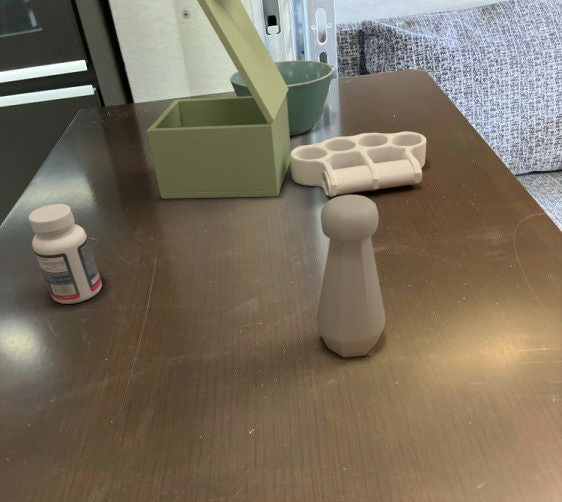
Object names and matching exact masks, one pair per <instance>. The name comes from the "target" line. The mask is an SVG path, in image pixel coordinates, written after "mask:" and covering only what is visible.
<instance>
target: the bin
mask: <svg viewBox="0 0 562 502" xmlns="http://www.w3.org/2000/svg"><path fill="white" fill-rule="evenodd" d="M146 135H147V140H148V144H149V149H150V154H151V159H152V163H153V167H154V172H155V176H156V182H157V186H158V190H159V193H160V199H161V200H163V199H164V200H165V199H213V198H215V199H216V198H217V199H218V198H221V199H222V198H265V197H272V198H273V197H279V194H280V192H281V189H282V187H283V184H284V180H285V178H286V175H287V172H288V170H289V167H290V165H291V159H290V154H291V152H292V150H291V149H292V148H291V138H290V135H289V122H288V109H287V95H286V96H285V98H284V100H283V102H282V104H281V106H280V108H279V110H278V112H277V114H276V117H275V119H274V121H272V122H270V123H268V122H267V120H266V119H265V117H264V115H263V113H262V112H261V110H260V108H259V107H258V105H257V103H256V101H255V100H254V98H253V96H243V97H237V96H226V97H225V96H224V97H222V96H221V97H202V98H201V97H200V98H182V99H181V98H180V99H174V100H173V101H172V102H171V103H170V105H168V107H167V108H166V109H165V110H164V111H163V112H162V113H161V114H160V115H159V117H158V118H157V119H156V120H155V121H154V122H153V123H152V124H151V125H150V126H149V128H148V129H147V130H146Z"/></svg>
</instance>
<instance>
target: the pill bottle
mask: <svg viewBox="0 0 562 502" xmlns="http://www.w3.org/2000/svg"><path fill="white" fill-rule="evenodd" d="M28 221H29V224H30V227H31V229H32V231H33V232H34V234H35V235H34V236H33V238H32V241H31V246H32V250H33V252H34V254H35V257H36V260H37V263H38V265H39V268H40V271H41V273H42V276H43V278H44V281H45V283H46V286H47V288H48V291H49V294H50V296H51V298H52V299H53V300H54V301H55V302H57V303H60V304H63V305H73V304H79V303H82V302H84V301H85V302H86V301H88V300H89V299H91V298H93V297H95V296H96V295H97V294H98V293H99V292H100V291H101V289H102V286H103V283H102V279H101V275H100V272H99V270H98V266H97V264H96V260H95V257H94V253H93V251H92V248H91V245H90V241H89V238H88V236H87V232H86V231H85V230H84V228H83V227H81V225H79V224H76V223H75V222H76V220H75V218H74V215H73V212H72V209H71V207H70V206H69V205H67V204H63V203H53V204H47V205H43V206H40V207H38V208H36V209H35V210H33V211H31V212H30V214H29V215H28Z"/></svg>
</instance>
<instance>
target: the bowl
mask: <svg viewBox="0 0 562 502" xmlns="http://www.w3.org/2000/svg"><path fill="white" fill-rule="evenodd" d="M274 63H275V65H276V67H277V69H278V71H279V72H280V74H281V76H282V78H283V80H284V82H285V83H286V85H287V87H288V91H287V94H286V95H287V109H288V122H289V135H290V136H296V135H301V134H304V133H307V132H308V131H310V130H311V129H313V127H315V125H316V124H317V123H318V122H319V121H320V119H321V117H322V115H323V111H324V108H325V104H326V101H327V98H328V94H329V90H330V86H331V82H332V80H333V79H332V78H333V74H334V68H333V66H332V65H330V64H329V63H326V62H322V61H316V60H282V61H281V60H280V61H274ZM229 81H230V83H231V86H232V88H233V90H234V93H235V96H236V97H243V96H252V94H251V93H250V91H249V89H248V87H247V86H246V84H245V82H244V81H243V79H242V77H241V75H240V74H239V72H238V71H236V72H234V73H233V74H232V75H231V76H230V78H229Z"/></svg>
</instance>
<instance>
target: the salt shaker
mask: <svg viewBox="0 0 562 502" xmlns="http://www.w3.org/2000/svg"><path fill="white" fill-rule="evenodd" d="M320 210H321V212H320V225H321V231H322V233H323V235H324V236H325V237H327V238H329V242H328V243H329V244H328V251H327V255H326V262H325V267H324V274H323V280H322V285H321V291H320V296H319V302H318V307H317V308H318V309H317V313H316V314H317V315H316V326H317V330H318V333H319V335H320V337H321V338H322V340H323V341H324V343H325V345H326V347H327V348H328V349H329V350H330V351H332V352H334V353H335V354H337V355H338V356H341V357H342V358H352V357H363V356H366V355H367V354H368V353H369V352H370V351H371V350H372V349H373V348H374V347H375V346H376V345H377V343H378V341H379V339H380V337H381V336H382V333H383V331H384V329H385V327H386V323H387V318H386V313H385V307H384V303H383V297H382V291H381V286H380V280H379V275H378V269H377V263H376V258H375V257H376V256H375V252H374V246H373V241H372V236H373V235H374V234H375V233H376V232H377V230H378V227H379V221H380V220H379V219H380V217H379V210H378V207H377V205H376V202H374V201H373V200H372V199H370V198H368V197H367V196H364V195H361V194H360V195H359V194H343V195H339V196H334V197H332V198H331V199H329V200H328V201H327V202H326V203H325V204H324V206H323V207H322V208H321V209H320Z"/></svg>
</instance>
